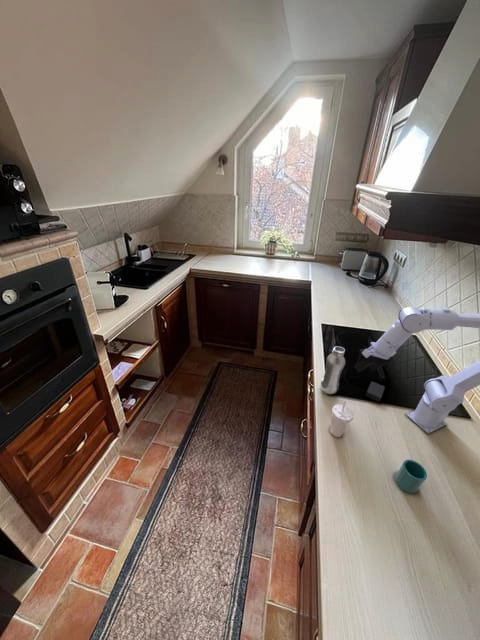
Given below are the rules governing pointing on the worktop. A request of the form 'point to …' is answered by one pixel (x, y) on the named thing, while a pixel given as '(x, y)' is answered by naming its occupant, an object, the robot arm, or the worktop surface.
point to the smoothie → (340, 419)
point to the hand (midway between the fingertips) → (364, 369)
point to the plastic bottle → (333, 371)
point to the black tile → (375, 391)
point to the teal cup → (410, 476)
